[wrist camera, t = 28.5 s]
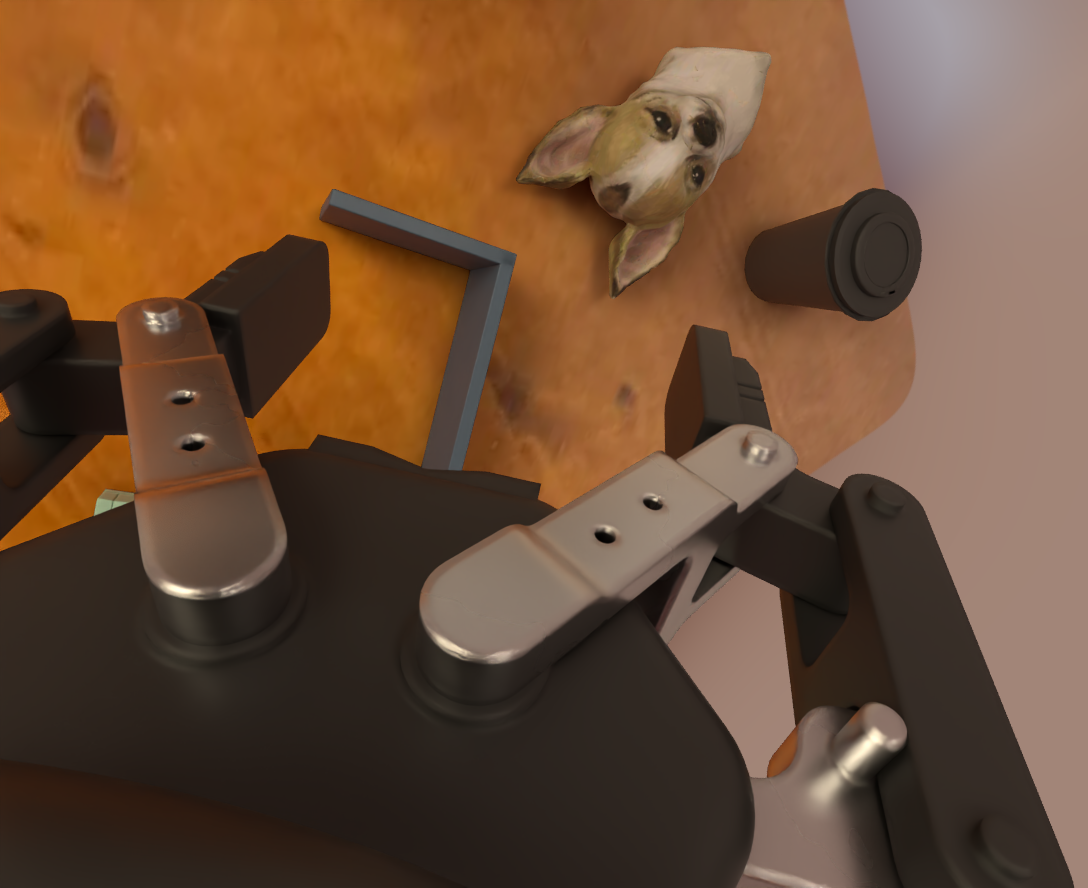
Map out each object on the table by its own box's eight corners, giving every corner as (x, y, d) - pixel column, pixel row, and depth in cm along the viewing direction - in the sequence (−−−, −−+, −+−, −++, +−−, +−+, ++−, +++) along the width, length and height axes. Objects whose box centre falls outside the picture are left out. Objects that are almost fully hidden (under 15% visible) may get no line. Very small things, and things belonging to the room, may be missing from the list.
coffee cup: (766, 342, 50) (878, 349, 41) (710, 261, 47) (819, 248, 38) (829, 269, 51) (952, 259, 42) (779, 185, 48) (901, 155, 39)
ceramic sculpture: (836, 127, 38) (665, 308, 37) (742, 155, 46) (599, 305, 44) (740, -48, 34) (543, 150, 32) (655, 16, 42) (494, 178, 40)
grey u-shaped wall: (259, 476, 37) (260, 501, 32) (322, 205, 36) (332, 187, 31) (424, 503, 41) (447, 529, 36) (485, 261, 40) (517, 254, 35)
